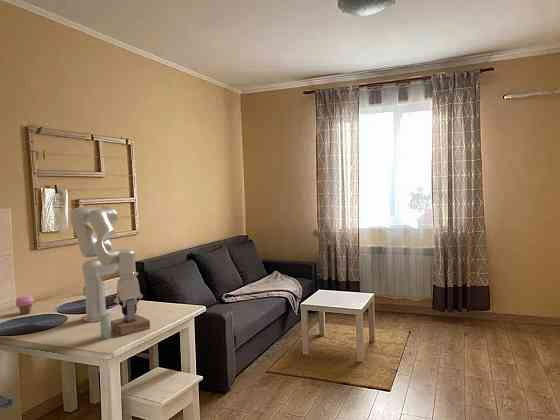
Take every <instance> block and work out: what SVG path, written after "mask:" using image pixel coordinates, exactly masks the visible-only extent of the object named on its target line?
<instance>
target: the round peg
mask: <svg viewBox="0 0 560 420" xmlns="http://www.w3.org/2000/svg"><path fill="white" fill-rule="evenodd" d="M111 317H112V316H111V315H110V314H109V315H103V316H101V317H100V321H99V323H100V338H101V340H108V339H112V330H111V321H112V319H111Z"/></svg>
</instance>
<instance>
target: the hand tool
mask: <svg viewBox="0 0 560 420" xmlns="http://www.w3.org/2000/svg"><path fill="white" fill-rule="evenodd" d="M116 297H117V295H114V296H111V297H109V298H105V304H106V307H107V306H111V305H114V304H116V303H115V302H114V301H115V299H116ZM119 301H120V302H121V300H119Z"/></svg>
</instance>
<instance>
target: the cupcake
mask: <svg viewBox="0 0 560 420" xmlns="http://www.w3.org/2000/svg"><path fill="white" fill-rule="evenodd" d="M34 302H35V300H34V298H33V297H32V296H31V295H22V296H19V297H18V298H17V299H16V300H15V305H16V306H17V307H18V310H19V313H20V314H21V315H24V314H27V313H28V314H30V312H31V311H32V307H33V304H34Z"/></svg>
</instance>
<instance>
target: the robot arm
mask: <svg viewBox="0 0 560 420" xmlns="http://www.w3.org/2000/svg"><path fill="white" fill-rule="evenodd" d="M69 219H70V220H69V221H70V223H71V227H72V228H73V230H74V232H75V235H76V238H77V242H78V245H79V249H80V253H81V255H82V257H83V258H86V259H87V258H92V259H89V260H86V261H84V262H83V263H82V266H81V270H82V275H83V280H84V290H85V291H84V292H85V295H84V296H85V311H86V312H85V313H86V314H85V316H83V320H82V321H84V322H86V323H87V322H89V323H90V322H91V323H93V322H100V317H101V316H103V315H110V313H108V312H107V306H106V304H105V299H106V288H105V287H106V286H105V283H104V281H103V279H101V277H103V276H109V275H112V274H114V273H116V271H117V270H118V271H119V272H118V273H119V275H118V276H119V279H117V283H116V296H117V297H116V299H115V301H114V302H115V303H114V304H117V305H119V306H120V307H121V312H122V315H123V316H124V315H127V308H126V300H131V299H135V314H136V313H137V310H138V308H137V305H138V303H139V301H141V299H143V297H144V295H143V294H142V293H141V291H140V284H139V283H140V282H139V280H138V279H139V278H138V277H137V276H138V275H139V272H138V271H136V269H137V268H136V254H135V251H133V250H130V249H126V248H119V249H114V248H113V244H112V242H111V238H113V237H114V235H115V232H116V231H115V229H114V226H113V224H116V223H117V222H118V220H119V214H118V212H117V211H116V210H115V209H114V208H113V207H108V206H103V205H91V206H90V205H89V206H79V207H75V208H73V209H72V210H71V211H70V215H69ZM87 223H90V224H91V226H90V225H89V224H87ZM96 236H97V238H96ZM95 257H96V258H95ZM119 300H121V301H119Z"/></svg>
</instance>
